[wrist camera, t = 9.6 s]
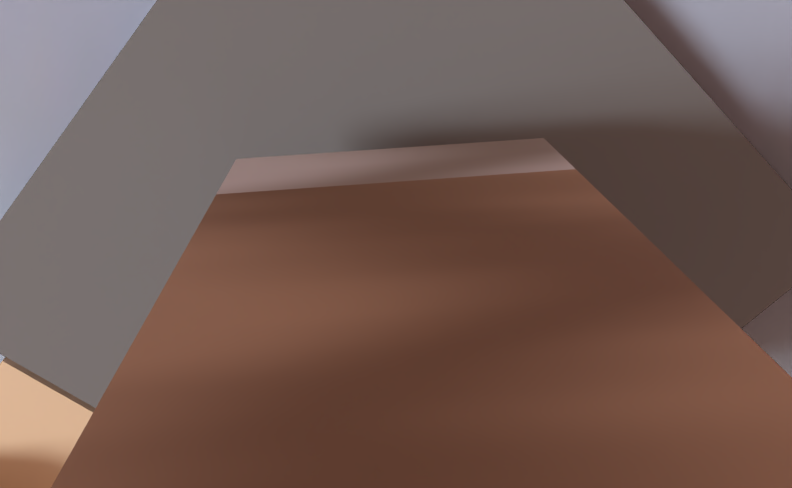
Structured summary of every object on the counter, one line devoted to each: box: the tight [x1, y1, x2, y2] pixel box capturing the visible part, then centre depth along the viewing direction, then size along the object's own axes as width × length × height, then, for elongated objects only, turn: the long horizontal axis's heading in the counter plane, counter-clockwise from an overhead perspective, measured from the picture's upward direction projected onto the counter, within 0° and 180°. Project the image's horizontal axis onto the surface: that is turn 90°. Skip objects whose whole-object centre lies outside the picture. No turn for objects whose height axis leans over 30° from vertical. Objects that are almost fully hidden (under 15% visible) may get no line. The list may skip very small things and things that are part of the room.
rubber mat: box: [0, 0, 792, 408], centre depth 12 cm, size 12×12×1 cm
